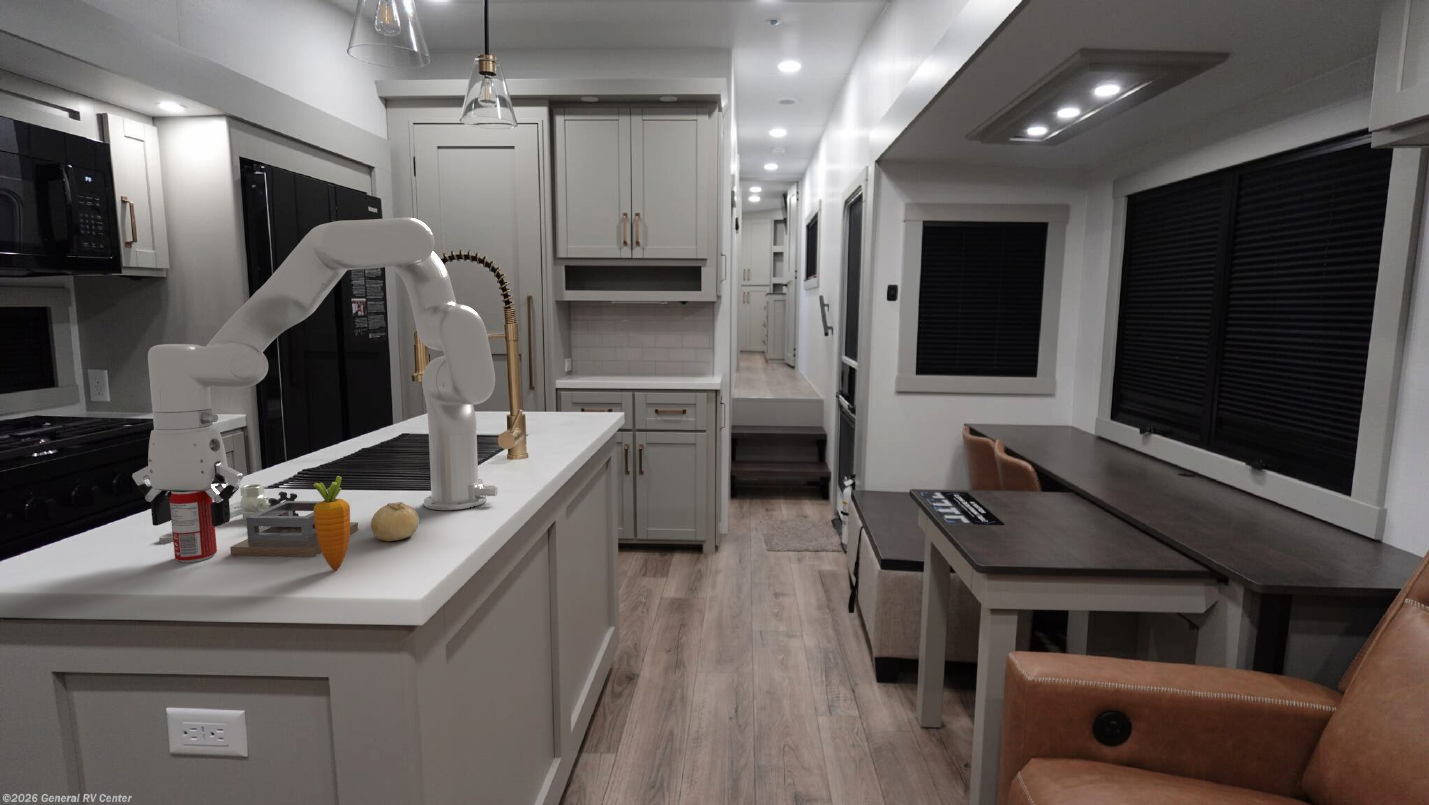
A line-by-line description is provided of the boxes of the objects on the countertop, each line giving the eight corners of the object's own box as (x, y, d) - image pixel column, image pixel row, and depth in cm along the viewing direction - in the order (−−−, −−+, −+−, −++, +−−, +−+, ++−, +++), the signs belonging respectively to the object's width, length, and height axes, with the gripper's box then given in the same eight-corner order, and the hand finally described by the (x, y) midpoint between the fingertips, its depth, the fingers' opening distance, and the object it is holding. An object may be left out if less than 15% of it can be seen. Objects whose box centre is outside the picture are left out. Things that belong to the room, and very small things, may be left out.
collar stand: (358, 530, 127) (356, 499, 126) (314, 556, 113) (311, 521, 113) (284, 529, 127) (281, 498, 127) (230, 555, 113) (227, 520, 113)
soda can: (214, 549, 116) (208, 481, 115) (219, 558, 112) (213, 487, 111) (173, 557, 113) (166, 486, 111) (177, 566, 109) (170, 493, 107)
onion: (361, 542, 121) (358, 503, 120) (394, 529, 128) (392, 492, 127) (397, 547, 118) (395, 508, 117) (429, 533, 126) (427, 496, 125)
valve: (230, 521, 132) (269, 530, 127) (227, 488, 131) (266, 496, 126) (264, 513, 138) (303, 521, 133) (262, 481, 137) (301, 488, 132)
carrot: (315, 578, 104) (309, 482, 102) (319, 567, 109) (313, 475, 107) (352, 573, 106) (346, 479, 104) (354, 562, 111) (349, 473, 109)
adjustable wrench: (170, 546, 119) (169, 537, 119) (137, 545, 120) (136, 535, 119) (275, 506, 144) (275, 498, 143) (247, 505, 144) (246, 497, 144)
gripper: (252, 418, 113) (259, 517, 115) (149, 416, 113) (158, 516, 115) (219, 425, 106) (227, 531, 108) (109, 423, 106) (119, 529, 108)
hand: (191, 523), depth 112 cm, fingers open, 9 cm apart
